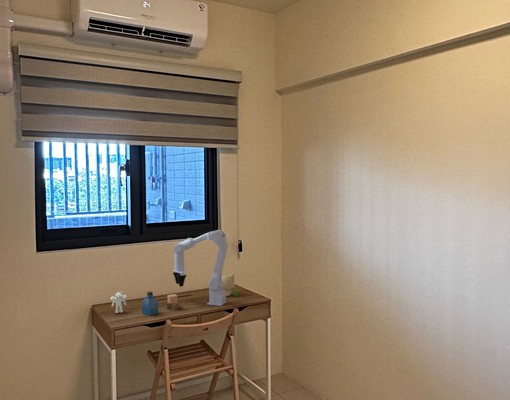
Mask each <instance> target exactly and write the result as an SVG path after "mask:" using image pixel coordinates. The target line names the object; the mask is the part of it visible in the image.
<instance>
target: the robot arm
mask: <svg viewBox="0 0 510 400" xmlns="http://www.w3.org/2000/svg"><path fill="white" fill-rule="evenodd" d="M206 240H207V241H212V242H213V243H214V244H215V245H217V247H218V250H217V256H216V260H215V265H214V268H213V273H212V275H211V278H210V279H209V281H208V282H207V283H208V284H207V285H208V288H209V289H208V291H209V292H208V293H209V294H208V295H209V296H208V297H209V301H208V302H207V303H206V305H210V306H217V307H219V306H220V307H221V306H224V304H227V296H226V292H225V290H223V289H221V286H220V285H221V284H222V275H223V269H224V265H225V261H226V256H227V252H228V247H229V243H228V241H227V235H226V233H225V232H224V231H223V230H222V229H217V230H213V231H209V232H207V233H204V234H202V235H200V236H197V237H195V238H192V237H187V238H186V239H185V240H181V241H179V242H178V243H175V244H174V245H173V247H172V252H174V269H173V270H172V274H173V276H174V280H175V281H174V282H175V284H176V285H178V286H179V288H181V287H184V284H185V280H186V278H187V274H185V271H186V270H185V251H187V250H190V249H192V248H195V247H196V245H197V244H199V243H201V242H204V241H206Z"/></svg>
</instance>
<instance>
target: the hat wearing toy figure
mask: <svg viewBox="0 0 510 400" xmlns="http://www.w3.org/2000/svg"><path fill="white" fill-rule="evenodd" d="M123 292H124V290H121V291H120V292H116V293H115V296H114V295H113V296H111V297H110V301H112V303H111V308H113V307H114V306H115V313H116V314H119V313H123V305H124V306H127V302H126V300H127V299H128V297H127V295H126V294H122V293H123ZM122 302H123V303H122Z"/></svg>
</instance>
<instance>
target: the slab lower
mask: <svg viewBox="0 0 510 400" xmlns="http://www.w3.org/2000/svg"><path fill="white" fill-rule="evenodd" d="M179 308H180V307H179V304H178V306H176V307H167V306H166V310H171V309H172V311H175V310H177V309H179Z"/></svg>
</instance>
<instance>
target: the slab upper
mask: <svg viewBox="0 0 510 400" xmlns="http://www.w3.org/2000/svg"><path fill="white" fill-rule="evenodd" d="M178 305H179V302H178V303H171V304H170V303H168V302H166V308H167V307H176V306H178Z"/></svg>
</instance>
